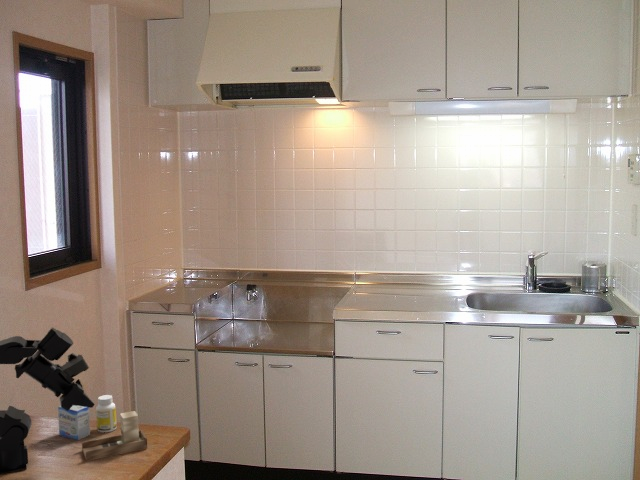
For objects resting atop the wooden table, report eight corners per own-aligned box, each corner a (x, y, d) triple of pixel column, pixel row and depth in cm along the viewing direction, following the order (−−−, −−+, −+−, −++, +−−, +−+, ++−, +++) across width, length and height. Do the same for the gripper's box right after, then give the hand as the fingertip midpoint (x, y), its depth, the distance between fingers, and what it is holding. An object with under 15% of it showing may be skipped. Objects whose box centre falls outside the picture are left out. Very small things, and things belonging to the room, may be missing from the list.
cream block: (124, 446, 185) (122, 418, 184) (121, 441, 189) (120, 413, 188) (139, 443, 187) (137, 415, 186) (136, 438, 190) (134, 410, 189)
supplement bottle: (110, 424, 204) (109, 392, 203) (120, 429, 200) (118, 396, 199) (93, 429, 200) (92, 397, 199) (103, 434, 196) (101, 401, 195)
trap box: (86, 460, 179) (85, 450, 179) (82, 450, 186) (81, 440, 185) (147, 448, 187) (146, 438, 186) (141, 439, 193) (141, 429, 192)
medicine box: (58, 435, 196) (57, 406, 195) (71, 430, 200) (69, 401, 199) (78, 440, 192) (76, 411, 191) (90, 435, 196) (89, 406, 195)
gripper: (72, 357, 169) (120, 392, 176) (63, 339, 186) (107, 372, 192) (40, 393, 167) (90, 427, 173) (34, 372, 183) (80, 404, 190)
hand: (93, 405), depth 182 cm, fingers closed
